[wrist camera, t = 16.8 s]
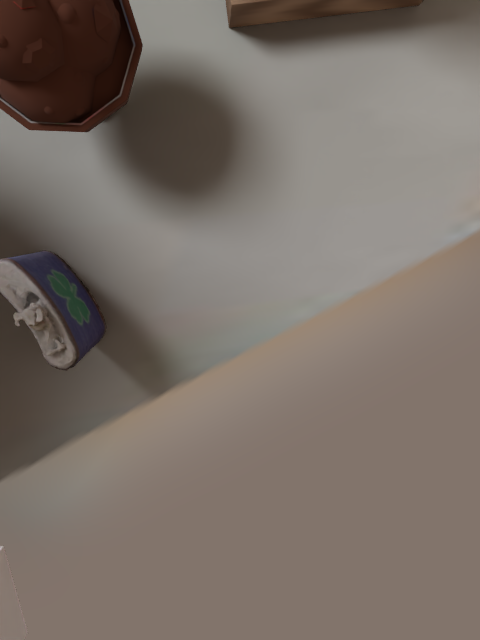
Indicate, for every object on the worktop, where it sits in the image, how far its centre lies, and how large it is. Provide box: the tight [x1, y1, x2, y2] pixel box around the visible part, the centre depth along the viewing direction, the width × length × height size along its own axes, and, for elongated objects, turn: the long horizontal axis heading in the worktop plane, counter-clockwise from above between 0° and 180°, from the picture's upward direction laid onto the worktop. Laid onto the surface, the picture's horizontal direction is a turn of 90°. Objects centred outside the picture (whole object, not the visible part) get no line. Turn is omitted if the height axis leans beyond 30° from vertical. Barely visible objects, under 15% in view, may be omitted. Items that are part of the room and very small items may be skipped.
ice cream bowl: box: [0, 0, 142, 132], centre depth 30 cm, size 11×11×15 cm
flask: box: [0, 251, 106, 370], centre depth 36 cm, size 9×3×11 cm, turn 30°
